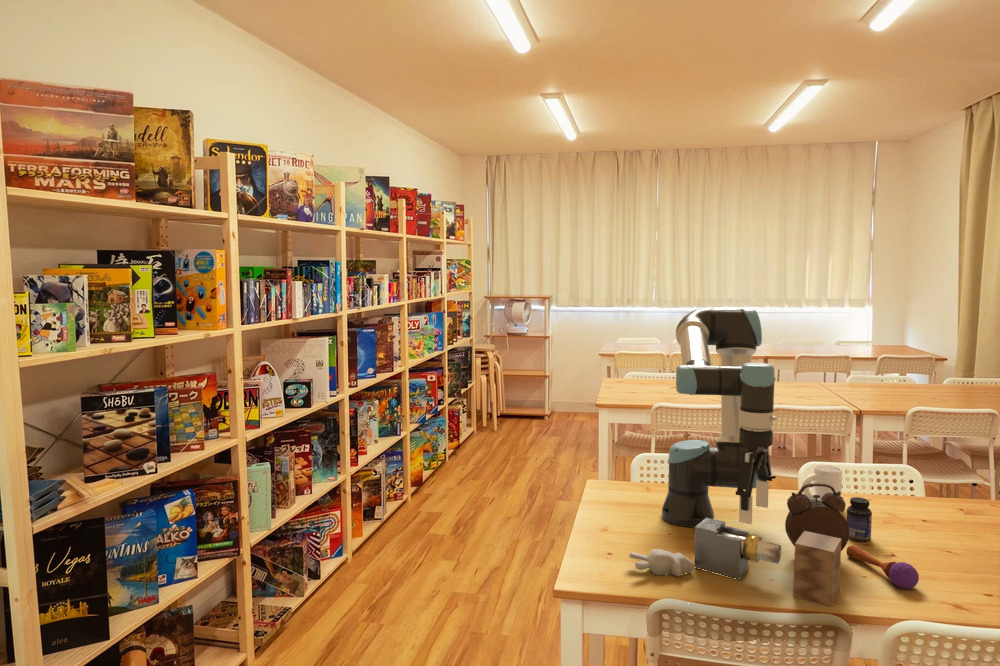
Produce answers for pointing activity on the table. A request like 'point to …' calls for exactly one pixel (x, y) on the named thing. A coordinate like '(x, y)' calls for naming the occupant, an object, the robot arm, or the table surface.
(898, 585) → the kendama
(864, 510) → the pill bottle
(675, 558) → the bunny figurine
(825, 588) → the socket block
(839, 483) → the mug
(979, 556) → the table surface
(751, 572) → the table surface
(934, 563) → the table surface
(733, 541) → the square shaft housing
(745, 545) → the tube
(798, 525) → the alarm clock
